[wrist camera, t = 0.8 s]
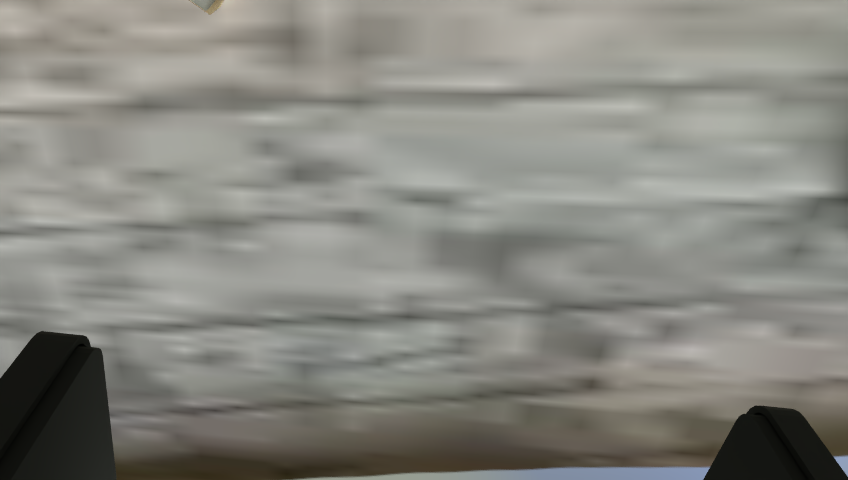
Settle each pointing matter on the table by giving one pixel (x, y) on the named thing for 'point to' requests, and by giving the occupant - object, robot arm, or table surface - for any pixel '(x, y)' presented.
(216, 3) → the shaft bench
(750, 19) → the table surface
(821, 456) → the robot arm
